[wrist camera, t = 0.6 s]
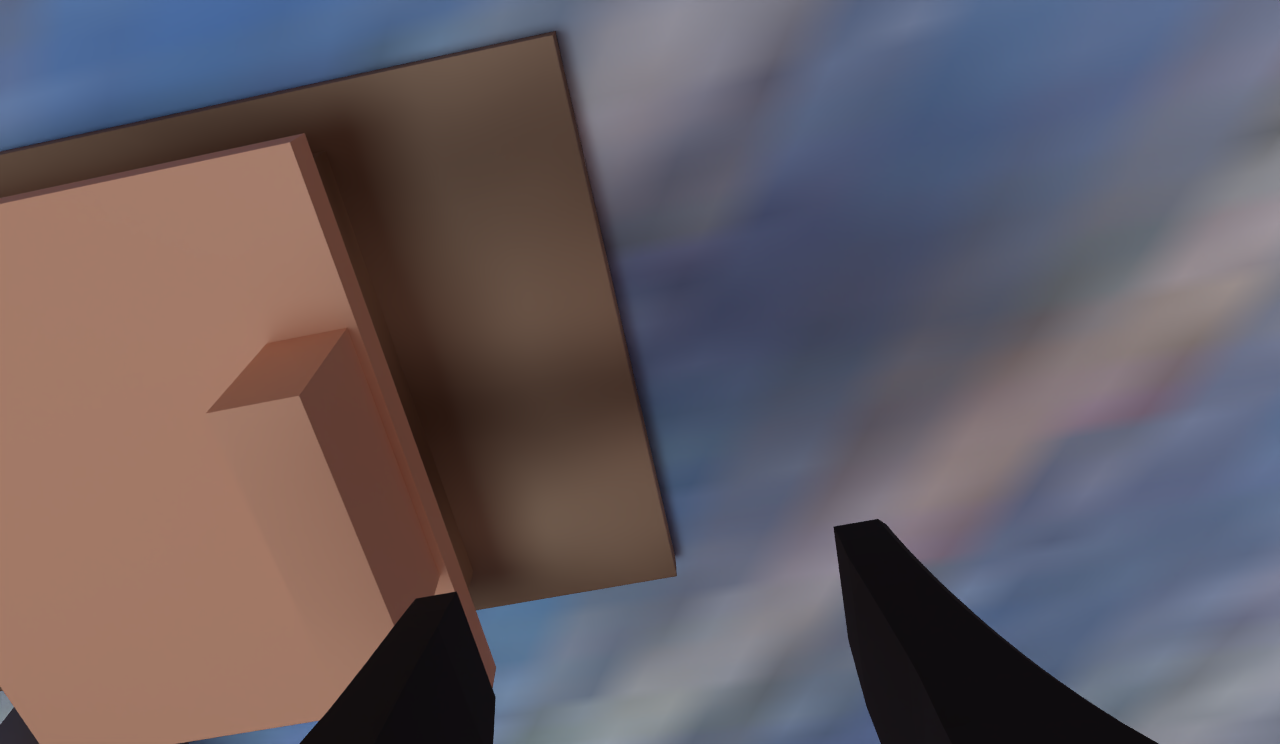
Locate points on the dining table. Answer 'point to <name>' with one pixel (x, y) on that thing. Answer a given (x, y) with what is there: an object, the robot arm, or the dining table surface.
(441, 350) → the socket
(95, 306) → the panel
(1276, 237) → the dining table surface
